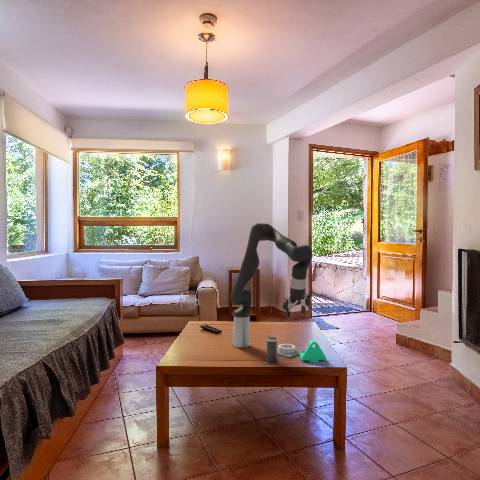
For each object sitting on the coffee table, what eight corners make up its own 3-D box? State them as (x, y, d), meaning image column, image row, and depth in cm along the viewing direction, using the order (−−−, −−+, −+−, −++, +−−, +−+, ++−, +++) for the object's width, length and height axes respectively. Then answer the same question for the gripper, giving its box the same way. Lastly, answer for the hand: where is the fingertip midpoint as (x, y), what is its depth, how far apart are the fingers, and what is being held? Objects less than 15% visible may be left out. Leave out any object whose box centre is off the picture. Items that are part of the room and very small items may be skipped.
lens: (264, 361, 192) (264, 338, 192) (271, 359, 195) (271, 336, 195) (272, 364, 188) (272, 340, 188) (278, 361, 192) (279, 338, 191)
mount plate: (268, 352, 207) (268, 346, 206) (284, 347, 216) (284, 341, 216) (288, 358, 197) (288, 351, 196) (304, 352, 206) (304, 346, 206)
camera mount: (321, 357, 200) (321, 337, 200) (325, 362, 192) (325, 341, 192) (299, 357, 199) (299, 338, 199) (302, 362, 191) (302, 342, 191)
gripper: (305, 280, 188) (302, 309, 193) (281, 284, 182) (279, 314, 187) (314, 286, 182) (311, 315, 187) (290, 291, 175) (287, 321, 181)
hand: (295, 315), depth 187 cm, fingers open, 8 cm apart
